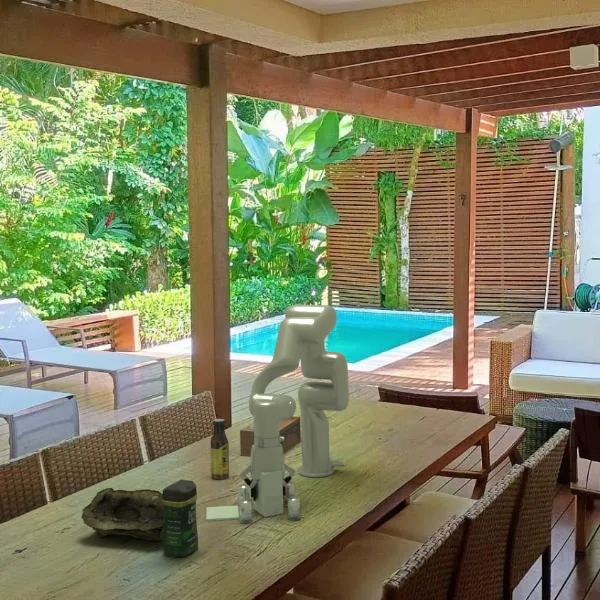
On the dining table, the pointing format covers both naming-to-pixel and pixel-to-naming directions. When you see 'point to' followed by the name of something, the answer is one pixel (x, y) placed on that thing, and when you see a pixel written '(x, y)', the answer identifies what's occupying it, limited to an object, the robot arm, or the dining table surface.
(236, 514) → the sage mat
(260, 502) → the small box
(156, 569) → the dining table surface
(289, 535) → the dining table surface
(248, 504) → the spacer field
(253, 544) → the dining table surface
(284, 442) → the tissue box cover
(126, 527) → the hollow geode rock
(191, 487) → the coffee jar
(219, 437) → the sauce bottle
